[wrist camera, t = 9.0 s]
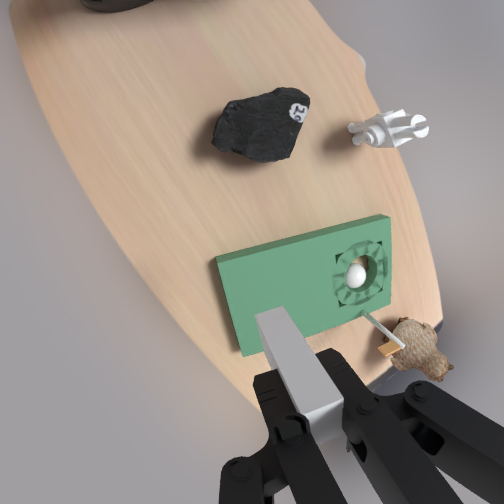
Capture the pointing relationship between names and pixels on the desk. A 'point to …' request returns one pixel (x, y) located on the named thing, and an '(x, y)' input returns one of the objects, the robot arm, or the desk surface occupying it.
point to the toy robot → (388, 129)
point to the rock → (262, 125)
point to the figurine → (419, 350)
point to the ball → (355, 275)
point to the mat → (310, 280)
